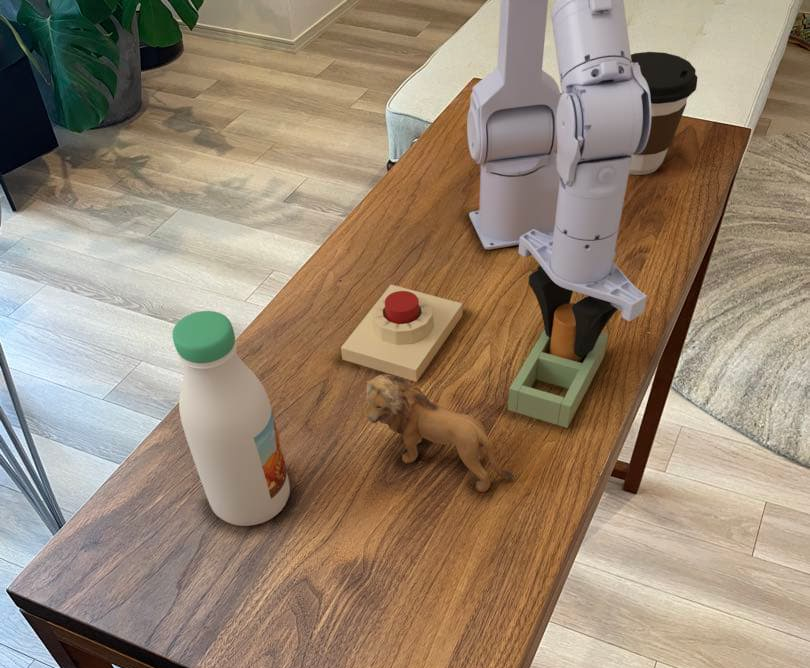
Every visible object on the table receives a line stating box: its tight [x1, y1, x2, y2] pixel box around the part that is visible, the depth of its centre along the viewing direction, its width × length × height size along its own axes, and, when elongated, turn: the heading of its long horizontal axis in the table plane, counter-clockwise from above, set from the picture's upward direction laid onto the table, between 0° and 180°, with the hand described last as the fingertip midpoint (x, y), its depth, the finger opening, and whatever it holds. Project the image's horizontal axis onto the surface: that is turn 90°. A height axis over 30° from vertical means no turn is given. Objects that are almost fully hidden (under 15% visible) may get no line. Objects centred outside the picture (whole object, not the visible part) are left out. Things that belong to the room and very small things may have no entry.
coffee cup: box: [629, 51, 698, 176], centre depth 107 cm, size 11×11×12 cm
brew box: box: [340, 284, 464, 383], centre depth 91 cm, size 12×9×4 cm
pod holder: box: [507, 328, 609, 429], centre depth 86 cm, size 6×12×3 cm, turn 154°
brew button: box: [385, 291, 419, 324], centre depth 89 cm, size 4×4×2 cm
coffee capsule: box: [549, 302, 585, 362], centre depth 85 cm, size 4×4×5 cm
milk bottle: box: [172, 310, 291, 527], centre depth 71 cm, size 8×8×20 cm
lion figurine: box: [363, 374, 515, 493], centre depth 77 cm, size 15×5×9 cm, turn 69°
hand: (569, 342), depth 86 cm, fingers closed on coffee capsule, 3 cm apart
